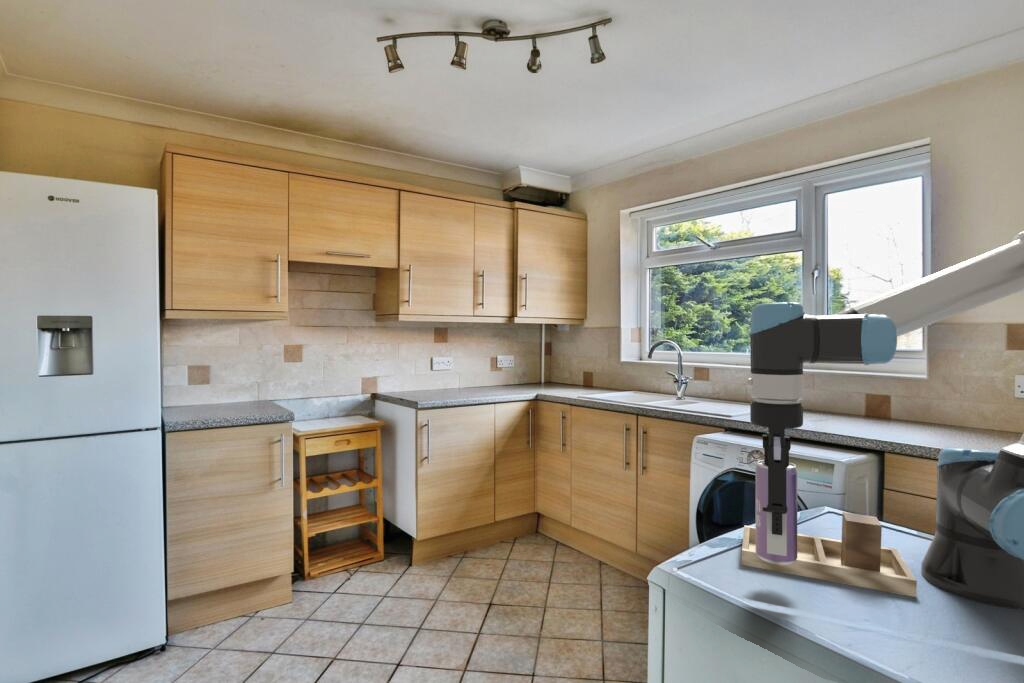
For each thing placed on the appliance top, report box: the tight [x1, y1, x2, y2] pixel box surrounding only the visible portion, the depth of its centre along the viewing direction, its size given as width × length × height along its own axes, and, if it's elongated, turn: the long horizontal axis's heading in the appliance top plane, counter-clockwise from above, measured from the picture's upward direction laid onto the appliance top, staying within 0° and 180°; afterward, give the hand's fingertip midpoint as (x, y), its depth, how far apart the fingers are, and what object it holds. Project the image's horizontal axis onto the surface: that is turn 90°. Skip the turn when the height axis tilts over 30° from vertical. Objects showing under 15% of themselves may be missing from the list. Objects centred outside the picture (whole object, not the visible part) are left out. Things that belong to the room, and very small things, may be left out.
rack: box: [741, 524, 918, 598], centre depth 96 cm, size 25×14×3 cm, turn 65°
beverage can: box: [755, 459, 798, 565], centre depth 86 cm, size 6×6×15 cm
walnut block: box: [841, 512, 883, 572], centre depth 93 cm, size 5×5×9 cm
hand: (776, 546), depth 86 cm, fingers closed on beverage can, 6 cm apart
